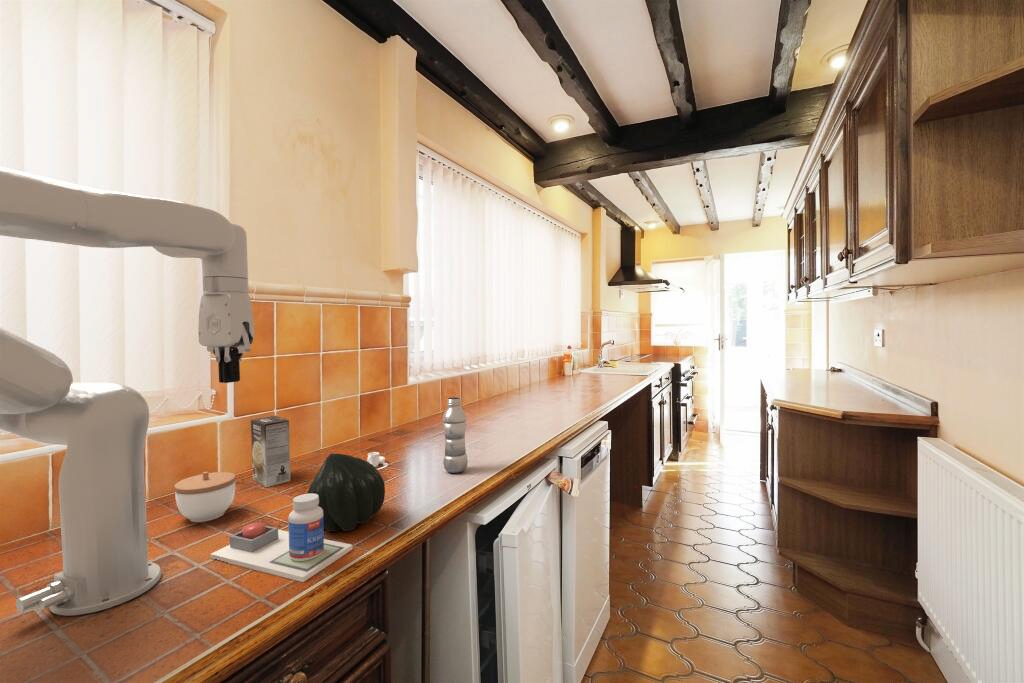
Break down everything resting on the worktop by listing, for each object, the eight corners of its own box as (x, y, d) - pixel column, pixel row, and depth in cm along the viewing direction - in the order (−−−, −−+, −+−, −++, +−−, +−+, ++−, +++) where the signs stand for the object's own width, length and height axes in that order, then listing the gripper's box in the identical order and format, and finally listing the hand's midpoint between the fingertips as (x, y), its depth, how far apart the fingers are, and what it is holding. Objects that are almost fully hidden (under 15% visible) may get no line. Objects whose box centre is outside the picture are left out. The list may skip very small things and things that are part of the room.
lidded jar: (182, 532, 88) (180, 485, 88) (170, 517, 95) (168, 473, 95) (243, 515, 96) (242, 471, 96) (228, 502, 103) (226, 461, 103)
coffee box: (251, 480, 118) (249, 419, 117) (277, 474, 123) (275, 415, 122) (266, 488, 112) (263, 423, 111) (292, 481, 117) (290, 419, 116)
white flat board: (303, 582, 70) (302, 564, 70) (210, 558, 78) (209, 542, 78) (352, 549, 80) (352, 533, 80) (266, 531, 88) (265, 517, 88)
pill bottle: (311, 563, 74) (309, 504, 73) (282, 560, 75) (280, 502, 75) (330, 547, 79) (329, 492, 79) (303, 545, 80) (301, 490, 80)
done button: (252, 543, 79) (252, 532, 79) (238, 540, 81) (237, 529, 80) (270, 534, 83) (270, 523, 82) (256, 531, 84) (255, 520, 84)
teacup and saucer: (378, 461, 135) (378, 447, 134) (396, 465, 130) (395, 451, 130) (352, 468, 128) (352, 454, 127) (370, 474, 123) (369, 459, 123)
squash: (408, 494, 92) (373, 433, 97) (344, 524, 80) (307, 453, 84) (376, 526, 98) (345, 468, 103) (313, 559, 86) (281, 491, 91)
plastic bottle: (472, 470, 124) (471, 397, 123) (457, 477, 118) (455, 400, 117) (454, 466, 127) (453, 395, 126) (438, 473, 121) (436, 399, 121)
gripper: (180, 288, 87) (184, 383, 88) (235, 284, 82) (238, 385, 83) (218, 291, 94) (221, 378, 95) (270, 287, 89) (274, 380, 90)
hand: (229, 381), depth 89 cm, fingers closed
